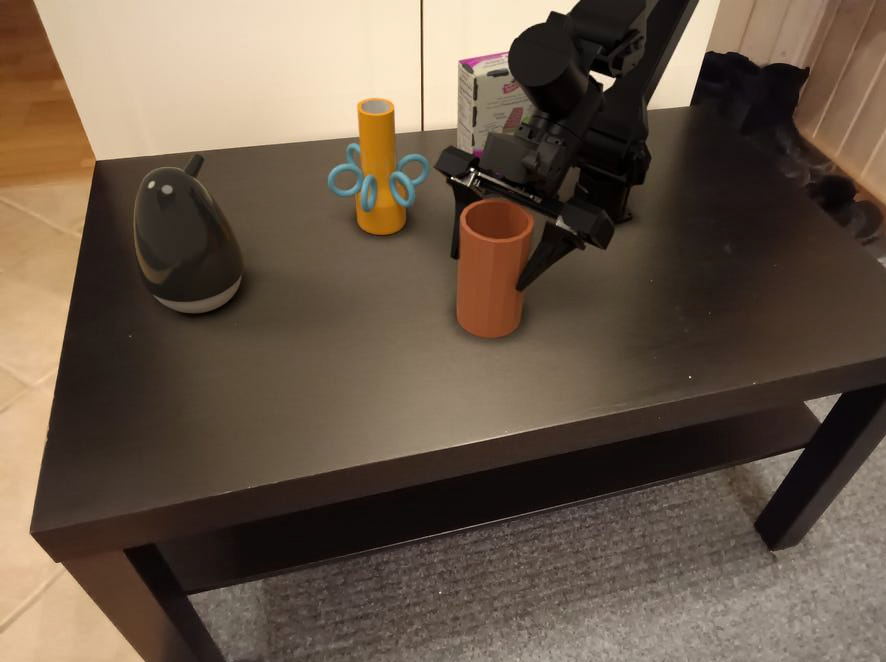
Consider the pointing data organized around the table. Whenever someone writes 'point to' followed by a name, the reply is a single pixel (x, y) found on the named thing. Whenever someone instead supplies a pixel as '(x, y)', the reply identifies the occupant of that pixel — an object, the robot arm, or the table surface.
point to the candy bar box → (488, 102)
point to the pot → (492, 266)
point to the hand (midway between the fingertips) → (485, 274)
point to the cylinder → (379, 171)
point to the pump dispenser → (184, 241)
